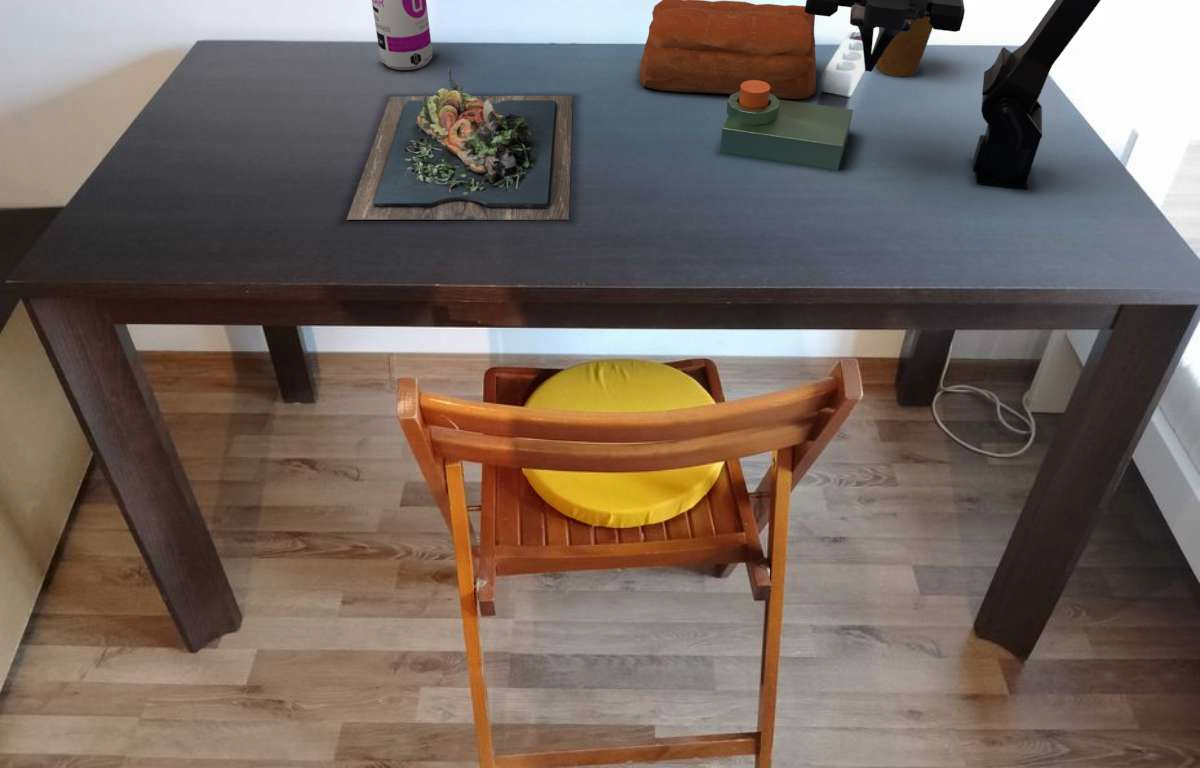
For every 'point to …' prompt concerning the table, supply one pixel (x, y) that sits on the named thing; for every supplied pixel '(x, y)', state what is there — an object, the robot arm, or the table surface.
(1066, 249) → the table surface
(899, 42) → the disposable coffee cup
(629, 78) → the table surface
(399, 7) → the supplement can
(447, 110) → the plated dish
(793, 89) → the bread
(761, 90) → the button
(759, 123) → the block
